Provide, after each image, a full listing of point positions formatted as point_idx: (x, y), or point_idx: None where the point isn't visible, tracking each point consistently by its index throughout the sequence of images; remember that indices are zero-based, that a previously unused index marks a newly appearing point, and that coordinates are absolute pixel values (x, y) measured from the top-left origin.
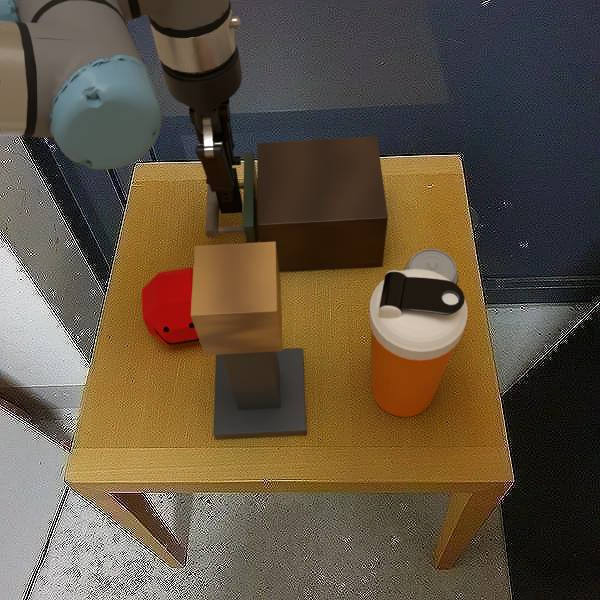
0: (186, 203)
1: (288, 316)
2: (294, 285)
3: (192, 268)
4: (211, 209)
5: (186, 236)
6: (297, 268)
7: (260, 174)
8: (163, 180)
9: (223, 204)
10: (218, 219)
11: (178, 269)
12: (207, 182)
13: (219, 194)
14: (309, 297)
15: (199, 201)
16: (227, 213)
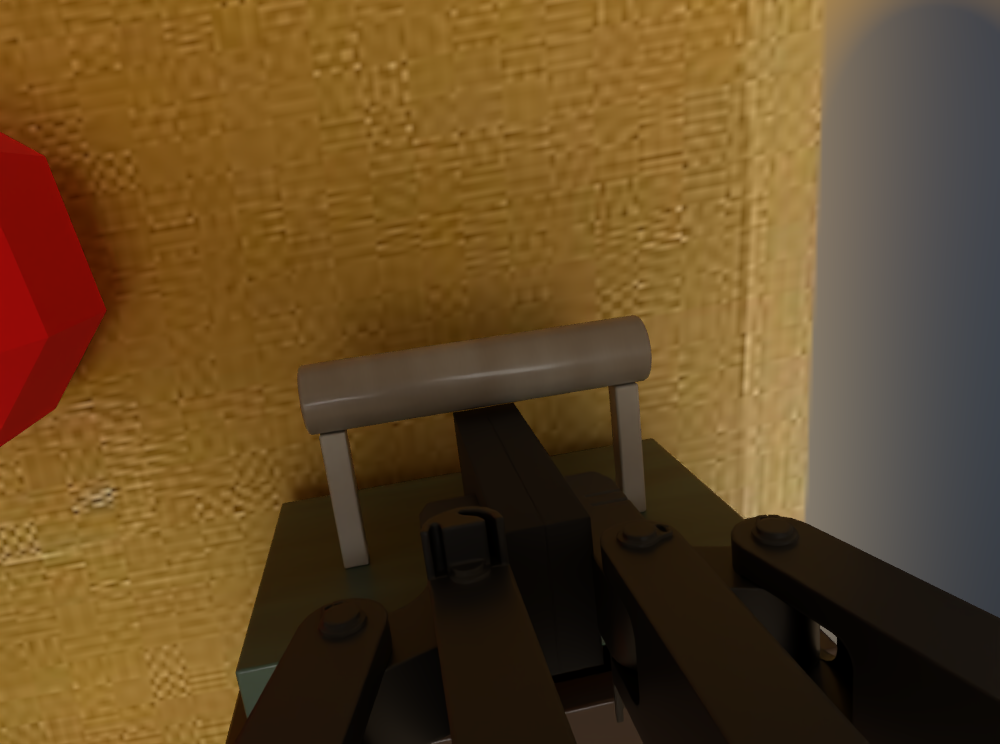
0: (620, 153)
1: (84, 661)
2: (235, 655)
3: (36, 347)
4: (449, 385)
5: (436, 185)
6: None
7: (604, 719)
8: (752, 16)
9: (465, 462)
10: (402, 419)
11: (15, 267)
12: (425, 540)
13: (476, 486)
14: (188, 714)
15: (631, 211)
16: (458, 445)
